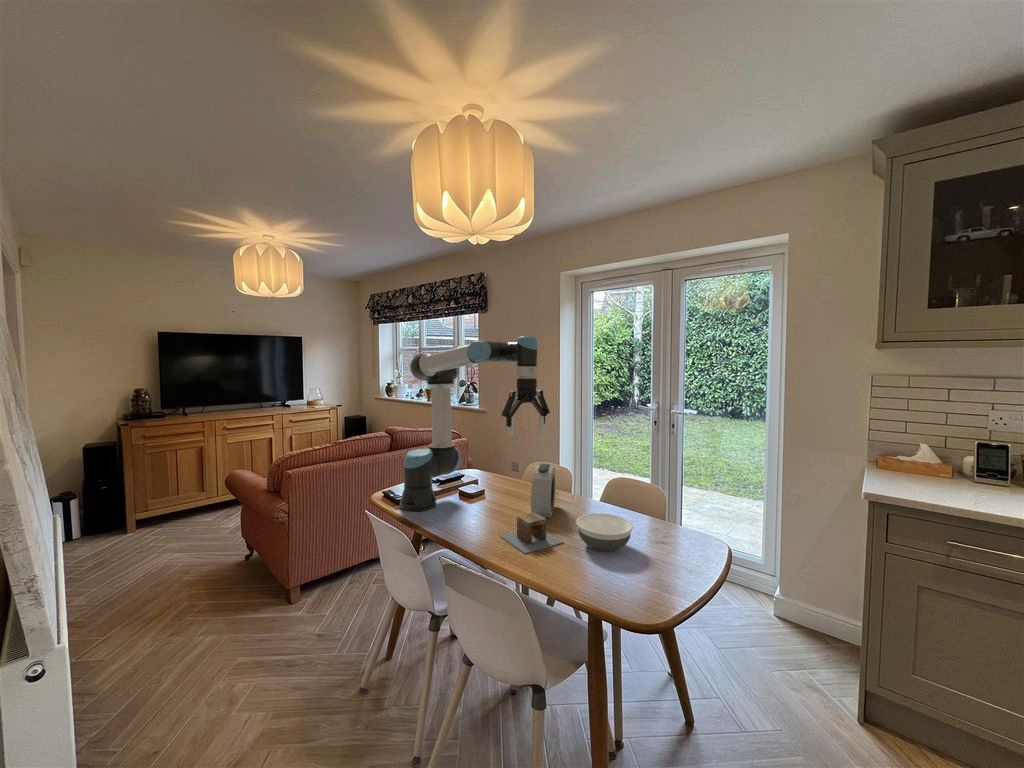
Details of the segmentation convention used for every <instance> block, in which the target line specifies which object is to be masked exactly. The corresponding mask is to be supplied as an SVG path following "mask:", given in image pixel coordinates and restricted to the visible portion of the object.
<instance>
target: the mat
mask: <svg viewBox="0 0 1024 768" xmlns="http://www.w3.org/2000/svg"><path fill="white" fill-rule="evenodd" d="M499 537H500V538H502V539H503V540H504V541H505V542H507V543H508V544H510V545H512V546H513V547H514V548H515V549H516V550H518V551H519V552H521V553H523V554H524V555H526V554H531V553H534V552H537V551H541V550H544V549H548V548H552V547H555V546H559V545H562V544H564V541H563V540H561V539H560V538H558V537H556V536H554V535H552V534H550V533H549V532H547V531H546V540H544V541H542V540H540V539H539V538H537V537H535V536H534V535H532V544H529V545H528V544H526V543H525V542H523V541H522V540H520V539H519V538H517V530H516V531H512V532H508V533H503V534H501V535H499Z"/></svg>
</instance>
